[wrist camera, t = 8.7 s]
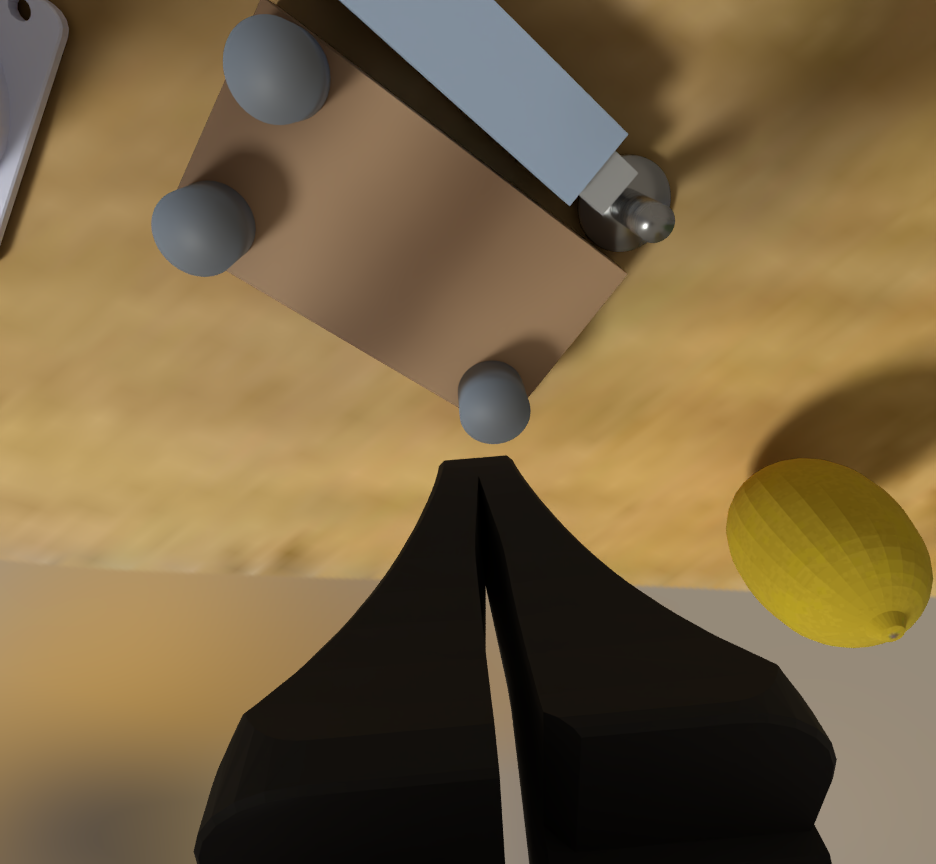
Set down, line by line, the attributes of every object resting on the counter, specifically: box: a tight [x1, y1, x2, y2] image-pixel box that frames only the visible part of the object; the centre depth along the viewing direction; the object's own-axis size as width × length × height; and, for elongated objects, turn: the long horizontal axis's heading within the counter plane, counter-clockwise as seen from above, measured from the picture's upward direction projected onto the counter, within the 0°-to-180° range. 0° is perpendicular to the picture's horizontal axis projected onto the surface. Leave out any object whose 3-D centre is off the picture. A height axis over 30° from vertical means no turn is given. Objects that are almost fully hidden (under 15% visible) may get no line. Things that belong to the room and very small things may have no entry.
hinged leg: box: [339, 0, 638, 215], centre depth 15 cm, size 11×2×2 cm, turn 52°
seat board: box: [152, 0, 628, 444], centre depth 18 cm, size 12×7×3 cm, turn 55°
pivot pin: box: [578, 155, 675, 252], centre depth 17 cm, size 3×3×3 cm
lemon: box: [726, 458, 933, 648], centre depth 21 cm, size 6×6×8 cm
